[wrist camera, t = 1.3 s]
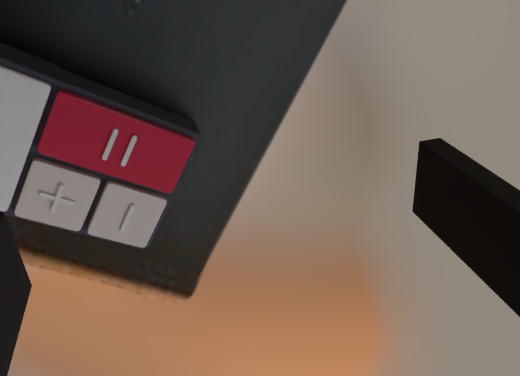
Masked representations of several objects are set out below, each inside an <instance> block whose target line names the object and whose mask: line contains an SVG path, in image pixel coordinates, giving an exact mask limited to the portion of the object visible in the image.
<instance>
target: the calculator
mask: <svg viewBox="0 0 520 376" xmlns="http://www.w3.org/2000/svg"><path fill="white" fill-rule="evenodd" d="M200 142H201V134H200V132H199V130H198V128H197V126H196V124H195V122H194V121H193V120H190V119H188V118H185V117H183V116H180V115H178V114H175V113H173V112H170V111H168V110H165V109H162V108H160V107H157V106H155V105H152V104H150V103H147V102H145V101H142V100H140V99H137V98H135V97H132V96H129V95H127V94H124V93H122V92H119V91H117V90H114V89H112V88H109V87H107V86H104V85H101V84H99V83H96V82H94V81H91V80H89V79H86V78H84V77H81V76H79V75H76V74H74V73H71V72H68V71H66V70H64V69H62V68H60V67H59V66H57V65H55V64H53V63H52V62H49V61H47V60H44V59H42V58H39V57H37V56H34V55H32V54H29V53H27V52H24V51H21V50H19V49H16V48H14V47H11V46H9V45H6V44H4V43H0V212H2V211H4V213H5V215H8V216H12V217H16V218H20V219H24V220H28V221H32V222H36V223H40V224H44V225H48V226H52V227H56V228H60V229H64V230H68V231H72V232H76V233H80V234H84V235H88V236H92V237H96V238H100V239H104V240H108V241H112V242H116V243H120V244H124V245H128V246H132V247H136V248H140V249H147V248H149V247H150V245H151V243H152V241H153V239H154V237H155V235H156V233H157V231H158V229H159V226H160V224H161V222H162V220H163V218H164V216H165V214H166V212H167V210H168V208H169V206H170V204H171V202H172V200H173V197H174V195H175V193H176V191H177V189H178V187H179V185H180V183H181V181H182V179H183V177H184V175H185V173H186V171H187V169H188V166H189V164H190V162H191V160H192V158H193V156H194V154H195V152H196V150H197V148H198V146H199V144H200Z"/></svg>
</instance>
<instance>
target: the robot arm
mask: <svg viewBox="0 0 520 376" xmlns="http://www.w3.org/2000/svg"><path fill="white" fill-rule="evenodd" d="M413 212H414V213H415V214H416V215H417V216H418V217H419V218H420V219H421V220H422V221H423V222H424V223H425V224H426V225H427V226H428V227H429V228H430V229H431V230H432V231H433V232H434V233H435V234H436V235H437V236H438V237H439V238H440V239H441V240H442V241H443V242H444V243H445V244H446V245H447V246H448V247H449V248H450V249H451V250H452V251H453V252H454V253H455V254H456V255H457V256H458V257H459V258H460V259H461V260H462V261H464V262H465V263H466V265H468V266H469V267H470V268H471V269H472V270H473V271H474V272H475V273H476V274H477V275H478V276H479V277H480V278H481V279H482V280H483V281H484V282H485V283H486V284H487V285H488V286H489V287H490V288H491V289H492V290H493V291H494V292H495V293H496V294H497V295H498V296H499V297H500V298H501V299H503V301H504V302H505V303H506V304H507V305H508V306H509V307H510V308H511V309H512V310H513V311H514V312H515V313H516V314H517V315H518V316H519V317H520V190H518V189H517V188H515V187H514V186H512V185H511V184H509V183H507V182H506V181H505V180H503V179H502V178H500V177H498V176H497V175H495V174H494V173H492V172H491V171H489V170H488V169H486V168H485V167H483V166H482V165H480V164H479V163H477V162H476V161H474V160H473V159H471V158H470V157H468V156H467V155H465V154H464V153H462V152H461V151H459V150H458V149H456V148H455V147H453V146H451V145H450V144H448V143H447V142H445V141H444V140H442V139H441V138H438V139H432V140H426V141H420V142H419V152H418V162H417V173H416V182H415V192H414V203H413ZM31 286H32V285H31V282H30V280H29V277H28V275H27V272H26V269H25V266H24V264H23V261H22V258H21V256H20V253H19V251H18V248H17V245H16V243H15V240H14V237H13V235H12V232H11V229H10V227H9V224H8V221H7V219H6V216H5V213H4V211H2V212H0V376H7V374H8V370H9V367H10V363H11V359H12V356H13V352H14V349H15V345H16V341H17V338H18V334H19V330H20V327H21V323H22V319H23V315H24V311H25V308H26V305H27V301H28V297H29V294H30V290H31Z"/></svg>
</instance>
